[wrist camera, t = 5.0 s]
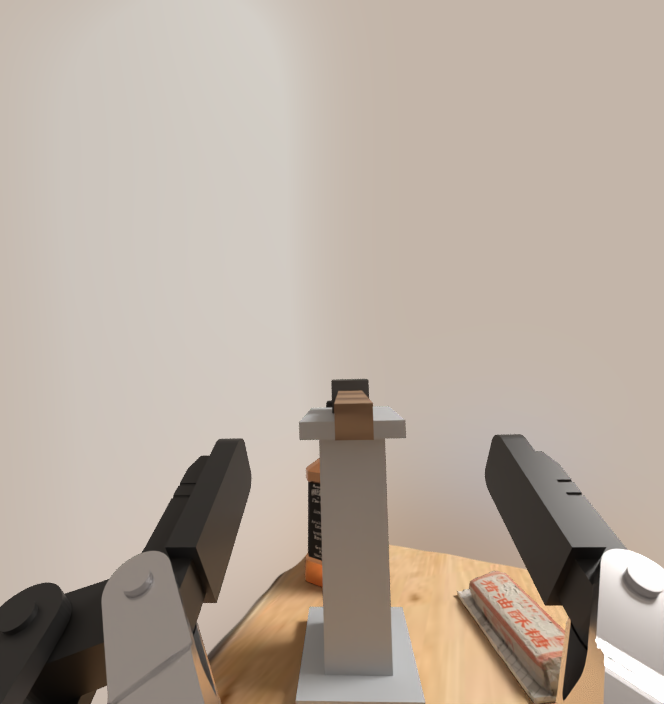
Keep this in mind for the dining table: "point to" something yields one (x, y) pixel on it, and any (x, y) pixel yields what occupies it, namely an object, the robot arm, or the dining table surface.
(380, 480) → the grey stand
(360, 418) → the lever bar
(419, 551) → the dining table surface
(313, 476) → the whiskey bottle
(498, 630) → the packaged product
